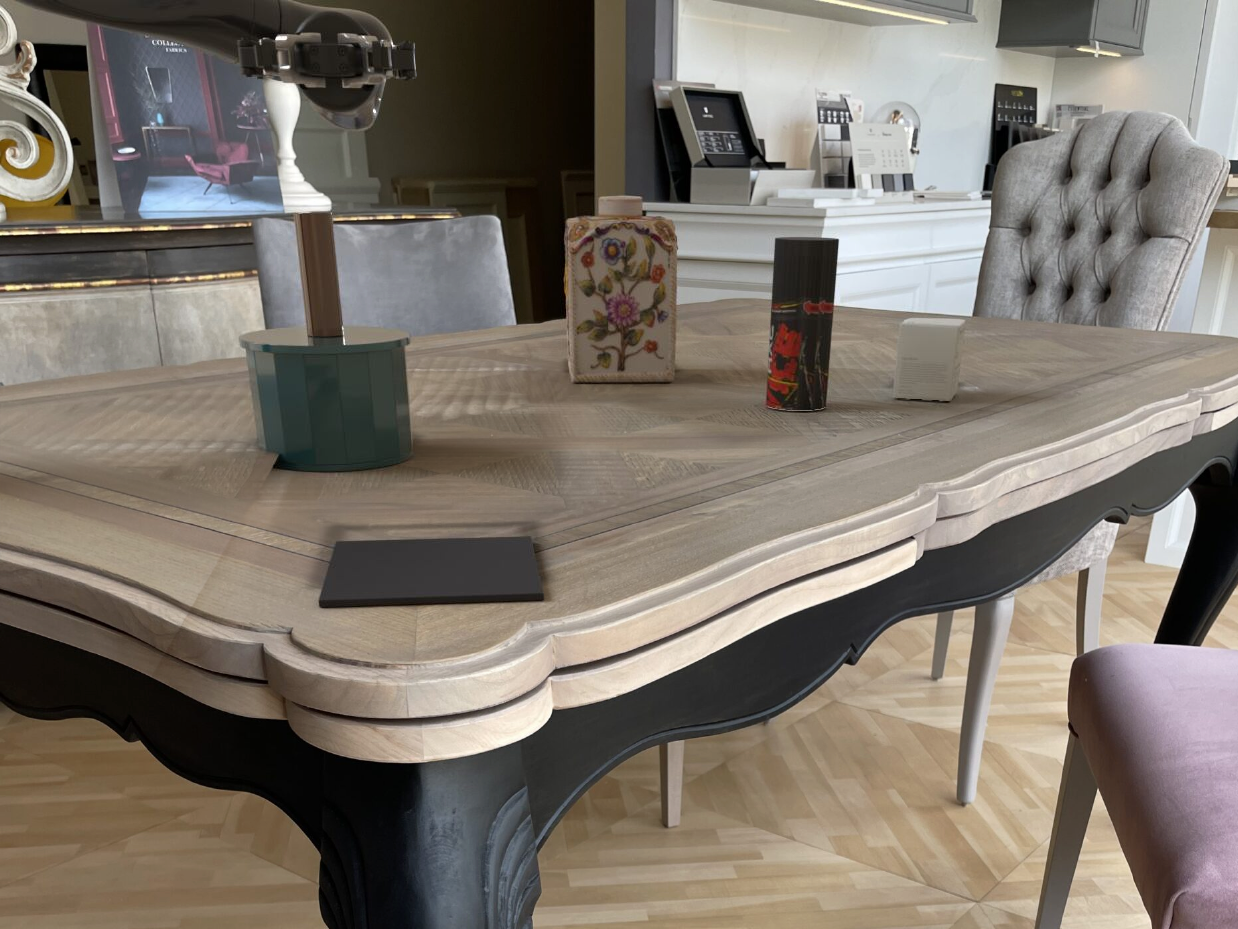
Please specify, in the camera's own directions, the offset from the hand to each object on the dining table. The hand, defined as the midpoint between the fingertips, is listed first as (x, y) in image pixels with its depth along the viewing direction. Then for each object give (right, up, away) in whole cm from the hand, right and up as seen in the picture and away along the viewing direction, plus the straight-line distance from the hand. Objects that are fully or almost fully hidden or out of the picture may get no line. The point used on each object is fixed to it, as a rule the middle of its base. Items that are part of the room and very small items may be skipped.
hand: (322, 56), depth 98 cm
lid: (+1, -23, -1) cm, 23 cm away
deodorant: (+41, -19, +25) cm, 51 cm away
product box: (+55, -16, +31) cm, 65 cm away
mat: (+13, -47, -26) cm, 55 cm away
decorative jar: (+23, -9, +43) cm, 49 cm away
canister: (+1, -31, +3) cm, 31 cm away
